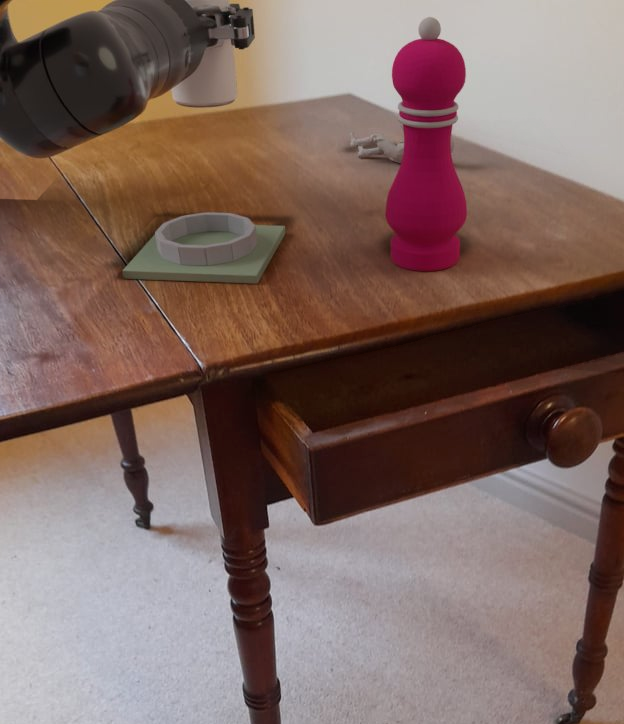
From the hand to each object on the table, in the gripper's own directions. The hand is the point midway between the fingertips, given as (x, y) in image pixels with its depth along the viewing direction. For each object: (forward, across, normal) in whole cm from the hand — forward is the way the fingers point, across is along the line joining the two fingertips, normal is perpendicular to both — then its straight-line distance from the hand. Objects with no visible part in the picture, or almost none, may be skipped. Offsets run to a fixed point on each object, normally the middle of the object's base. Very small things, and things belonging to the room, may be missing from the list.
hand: (202, 15), depth 85 cm
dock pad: (-17, -3, +18) cm, 25 cm away
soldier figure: (+13, -18, +18) cm, 29 cm away
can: (-2, 0, +8) cm, 8 cm away
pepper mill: (-16, -23, +18) cm, 34 cm away
